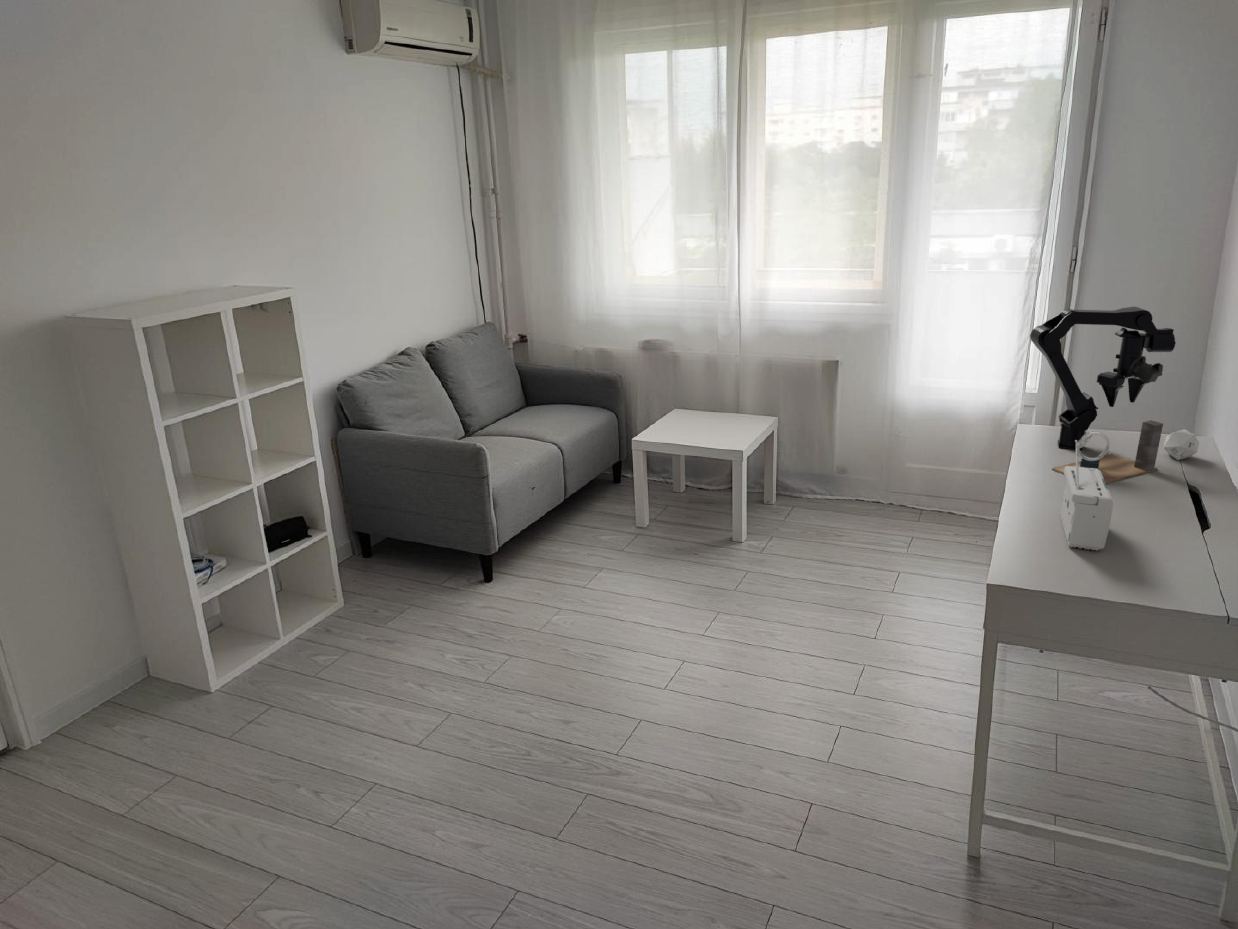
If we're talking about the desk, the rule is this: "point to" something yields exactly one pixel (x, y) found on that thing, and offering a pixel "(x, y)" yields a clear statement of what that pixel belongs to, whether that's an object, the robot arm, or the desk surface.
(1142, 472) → the pull board
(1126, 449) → the desk surface
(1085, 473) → the stereo radio cassette player
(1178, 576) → the desk surface
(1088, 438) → the watch
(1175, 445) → the die
